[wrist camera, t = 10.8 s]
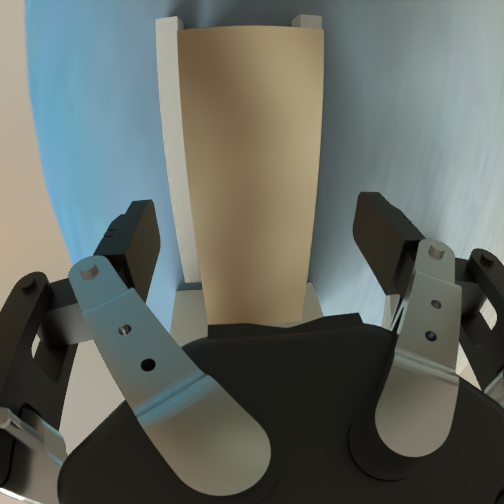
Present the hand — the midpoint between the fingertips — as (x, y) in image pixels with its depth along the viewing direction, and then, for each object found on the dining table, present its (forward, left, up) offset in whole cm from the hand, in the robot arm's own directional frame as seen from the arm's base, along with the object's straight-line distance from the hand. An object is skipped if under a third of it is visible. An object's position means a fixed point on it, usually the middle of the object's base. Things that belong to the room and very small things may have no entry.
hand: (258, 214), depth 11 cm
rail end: (0, 0, -10) cm, 10 cm away
